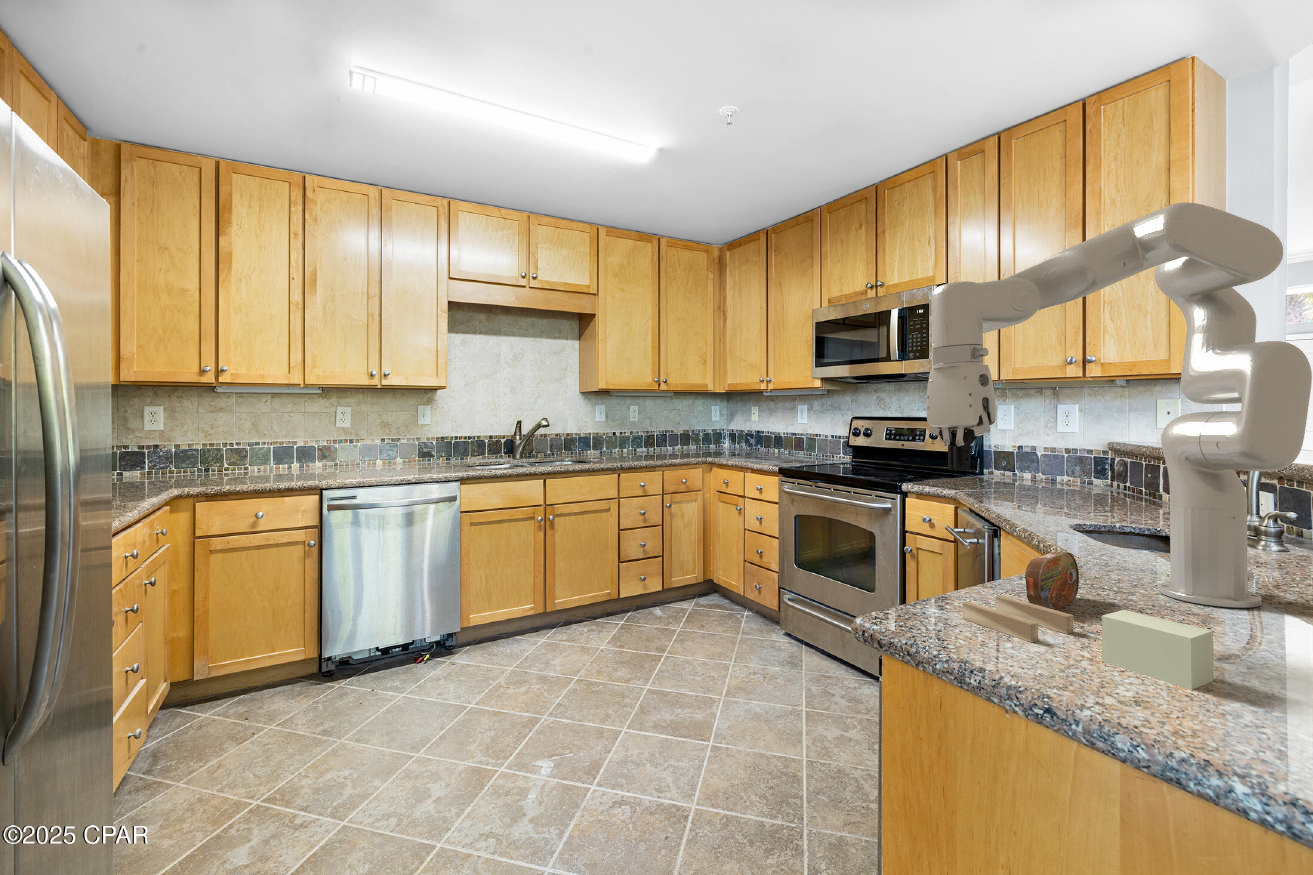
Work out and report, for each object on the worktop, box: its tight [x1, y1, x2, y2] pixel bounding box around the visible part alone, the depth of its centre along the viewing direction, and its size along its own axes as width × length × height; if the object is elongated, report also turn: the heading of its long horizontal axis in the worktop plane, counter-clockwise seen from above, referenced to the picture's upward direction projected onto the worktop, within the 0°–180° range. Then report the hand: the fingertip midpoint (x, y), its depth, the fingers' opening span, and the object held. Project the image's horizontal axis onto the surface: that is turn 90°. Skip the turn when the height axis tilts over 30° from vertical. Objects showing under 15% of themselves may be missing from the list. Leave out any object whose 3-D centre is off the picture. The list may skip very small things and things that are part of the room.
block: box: [1101, 609, 1215, 691], centre depth 70 cm, size 5×9×6 cm, turn 25°
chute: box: [962, 595, 1075, 643], centre depth 87 cm, size 9×11×2 cm
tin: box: [1024, 551, 1080, 611], centre depth 97 cm, size 15×3×8 cm, turn 125°
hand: (959, 469), depth 96 cm, fingers closed
